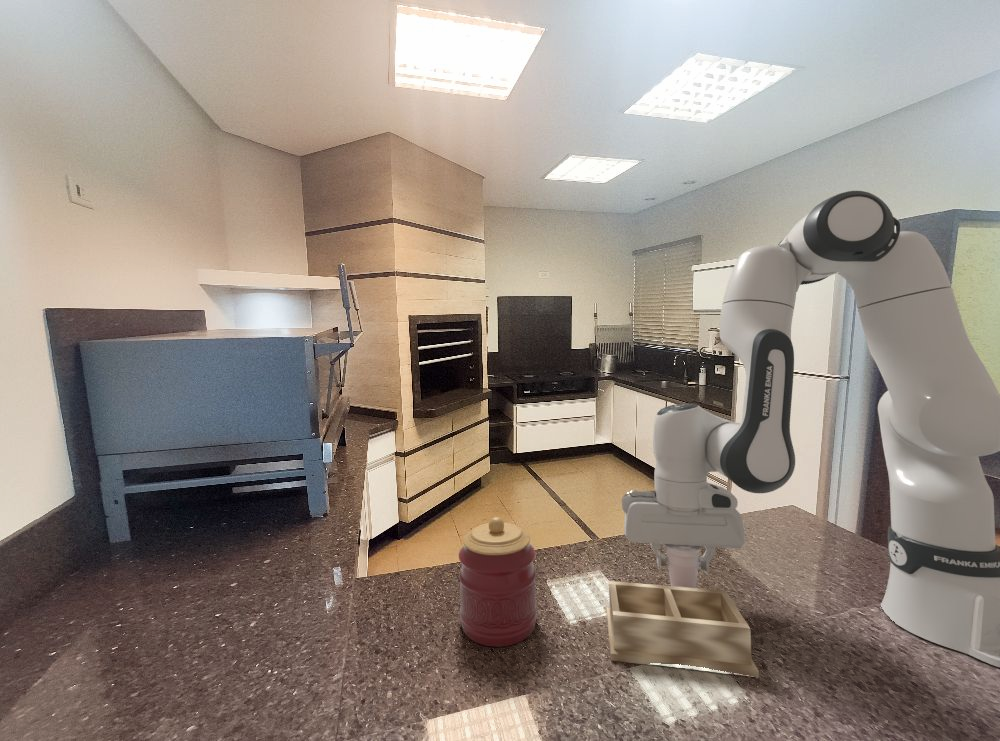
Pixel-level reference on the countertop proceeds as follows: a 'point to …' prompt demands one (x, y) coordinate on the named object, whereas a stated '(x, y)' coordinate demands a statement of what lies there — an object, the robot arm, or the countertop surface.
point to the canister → (497, 584)
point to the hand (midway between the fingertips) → (682, 567)
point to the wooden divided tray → (678, 627)
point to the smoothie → (682, 564)
